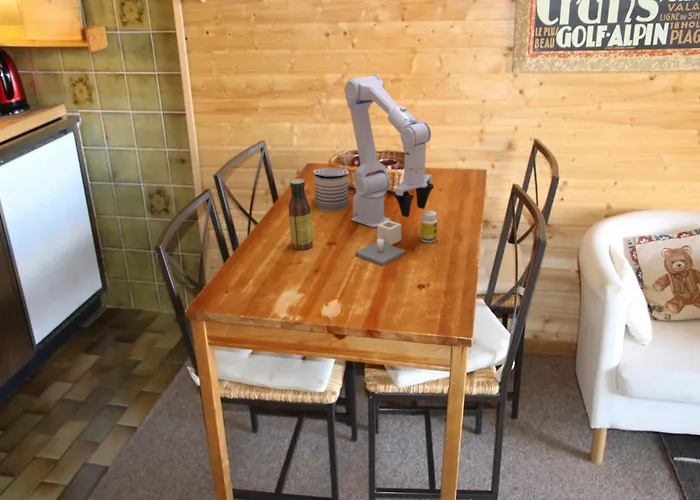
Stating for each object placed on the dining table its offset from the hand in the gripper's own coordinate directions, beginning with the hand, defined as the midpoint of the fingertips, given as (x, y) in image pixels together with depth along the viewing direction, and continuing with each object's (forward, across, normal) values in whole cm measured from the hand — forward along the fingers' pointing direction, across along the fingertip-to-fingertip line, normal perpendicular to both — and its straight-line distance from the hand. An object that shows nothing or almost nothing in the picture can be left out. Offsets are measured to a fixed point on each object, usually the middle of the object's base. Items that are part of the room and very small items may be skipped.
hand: (413, 211), depth 203 cm
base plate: (+10, -12, +2) cm, 16 cm away
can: (+10, +7, +38) cm, 40 cm away
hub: (+10, -3, +6) cm, 12 cm away
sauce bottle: (+10, -22, +23) cm, 34 cm away
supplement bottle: (+10, +4, -2) cm, 11 cm away
